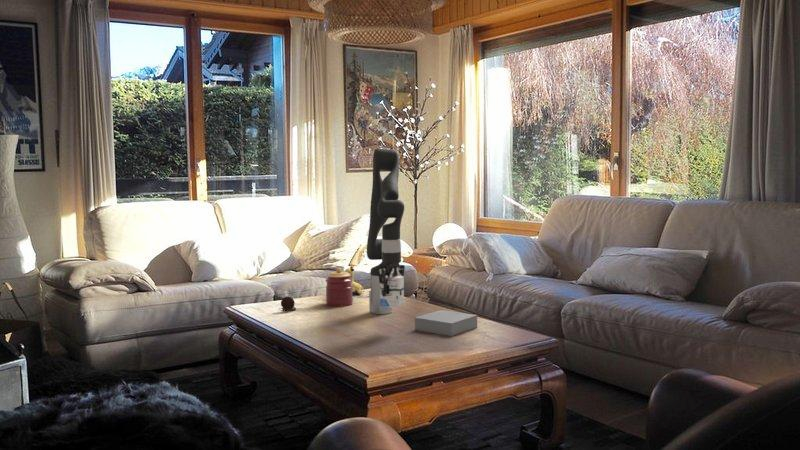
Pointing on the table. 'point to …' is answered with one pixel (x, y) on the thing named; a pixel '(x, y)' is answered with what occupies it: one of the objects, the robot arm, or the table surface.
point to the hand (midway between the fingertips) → (391, 292)
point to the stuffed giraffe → (355, 284)
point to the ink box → (393, 292)
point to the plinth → (446, 322)
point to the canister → (339, 288)
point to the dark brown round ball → (288, 304)
